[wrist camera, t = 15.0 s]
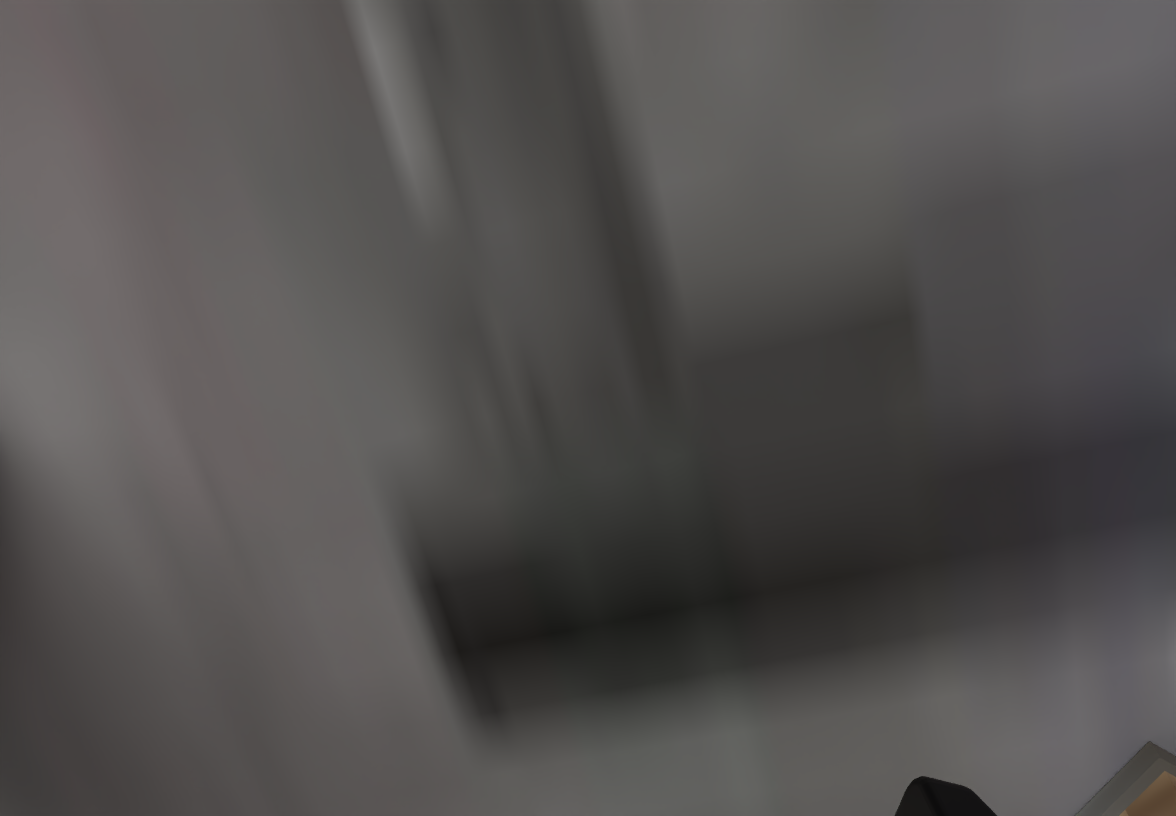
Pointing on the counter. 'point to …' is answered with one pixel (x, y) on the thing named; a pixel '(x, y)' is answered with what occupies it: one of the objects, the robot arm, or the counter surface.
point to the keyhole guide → (1139, 787)
